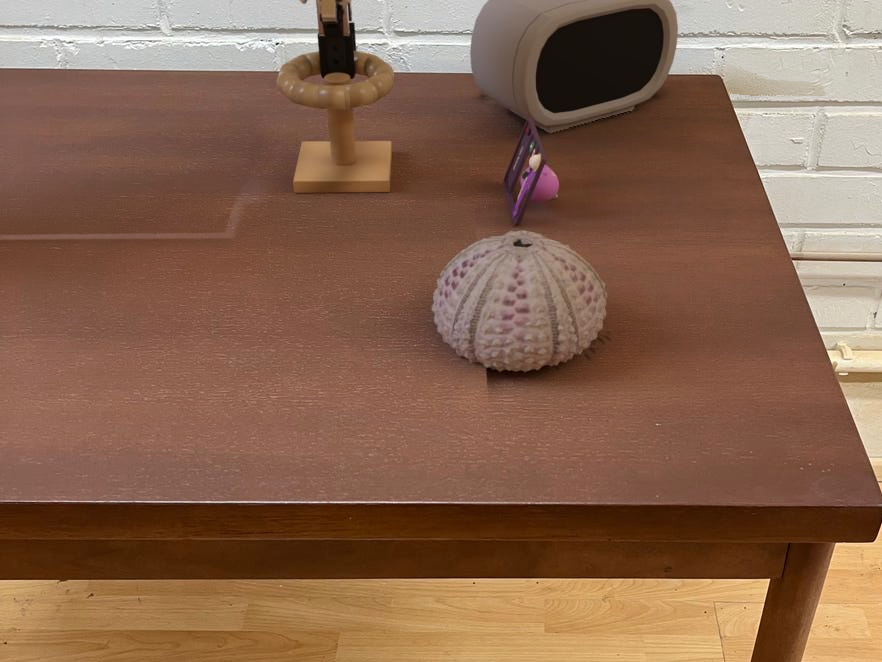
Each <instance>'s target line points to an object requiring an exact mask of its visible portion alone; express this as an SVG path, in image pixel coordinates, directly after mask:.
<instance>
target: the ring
mask: <svg viewBox="0 0 882 662" xmlns="http://www.w3.org/2000/svg"><path fill="white" fill-rule="evenodd" d="M354 61H355V75H359V76H364V77H367V79H365V80H362V81H359V82H354V83H353V82H352V83H351V84H348V85H325V84H318V83H317V84H316V83H312V82H308V81H304V80H306V79H308V78H309V77H314V76H319V75H321V70H320V59H319V50H318V51H313V52H308V53H302V54H299V55H297V56H295V57H294V58H292V59H290V60H289V61H287V62H285V63H283V64H282V65H281V67H280V69H279V72H278V75H277V78H276V87H277V89H278V91H279V92H280V93H281V94H283V95H284V97H285V98H287V99H288V100H290V102H291V103H294V104H295V105H301V106H304V107H307V108H312V109H317V110H327V109H351V108H353V109H354V108H355V109H356V108H359V107H364V106H369V105H373V104H375V103H376V102H378V101H379V100H381V99H383V98H385V97H386V96H388V95H389V94H390V93H391V92H392V90H393V88H394V81H395V72H394V69H393V67H392V66H391V65H390V64H389V63H388V62H386V61H385V60H383V59H382V58H381V57H379V56H378V55H375V54H373V53H367V52H363V51H358V50H356V51H354Z"/></svg>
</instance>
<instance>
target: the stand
mask: <svg viewBox="0 0 882 662" xmlns="http://www.w3.org/2000/svg"><path fill="white" fill-rule="evenodd" d="M323 82H324V84H323V85H348V84H352V82H351V79H350V76H349V75H348V74H345V73H331V74H328V75H326V76H325V77H324V79H323ZM353 109H354V108H351V109H326V115H327V126H328V136H329V141H327V140H324V141H323V140H322V141H321V140H320V141H318V140H317V141H311V140H309V141H301V143H300V144H301V145H300V148H299V153H298V158H297V162H296V167H295V170H294V171H295V172H294V176H293V181H292V183H293V191H294V193H295V194H315V193H316V194H318V193H319V194H321V193H323V194H324V193H327V194H328V193H329V194H331V193H332V194H333V193H334V194H335V193H390V192H391V176H392V159H393V158H392V157H393V144H392V143H393V142H392V140H359V141H358V140H356V138H355V137H356V135H355V122H354V110H353Z"/></svg>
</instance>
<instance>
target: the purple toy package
mask: <svg viewBox="0 0 882 662" xmlns="http://www.w3.org/2000/svg"><path fill="white" fill-rule="evenodd" d="M521 131H522V132H521V134H520V137H519V139H518V141H517V144H516V146H515V149H514V152H513V154H512V157H511V159H510V161H509V164H508V167H507V169H506V172H505V174H504V177H503V179H502V184H503V188H504V191H505V195H506V196H505V197H506V199H507V203H508V207H509V210H510V213H511V217H512V221H513V224H514V226H517V227H519V226H520V225H521V222H522V220H523V218H524V215H525V213H526V210H527V208H528V206H529V203H530V201H531V200H533V201H535V202H538V203H544V202H549V201H551V200H552V199H554V200H556V198H558V197H559V196H558V192H559V188H560V182H559V178H558V176H557V174H556V173H555V171H553V170H552V168H550V166H548V165H547V164H546V162H547V159H548V157H547V154H546V152H545V149H544V146H543V144H542V140H541V138H540V135H539V132H538V129H537V126H536V125H535V124H534V121H533V118H531V117H528V119H527V120H526V121H525V124H524V126H523V129H522V130H521ZM528 156H530V158H529V161H528V164H529V166H528V167H526V169H525V170H524V171H523V168H524V166H525V164H526V162H527V158H528ZM522 171H523V172H522ZM520 176H521V177H520ZM519 179H520V186H521V188H520V190H519V193H518V195H517V200H516V202H515V200H514V198H513V193H514V191H515V188H516V186H517V183H518V180H519ZM525 194H526V195H525ZM524 196H525V197H524ZM523 198H524V200H523ZM522 200H523V202H522ZM521 203H522V205H521V207H520V204H521Z"/></svg>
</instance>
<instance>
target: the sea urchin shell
mask: <svg viewBox="0 0 882 662" xmlns="http://www.w3.org/2000/svg"><path fill="white" fill-rule="evenodd" d="M439 277H440V278H437V279H436V284H437V285H436V288H435V289H434V292H433V296H432V299H433V303H432V305H431V306H430V308H431V311H432V313H433V314H434V316H433V322H434V324H435V325H436V326H437V329H436V330H437V332H438V333H439V334H440V335H441V336H442V341H443V343H445V344H447V345H449V346H450V348H452V349H453V350H455V352H456V355H457V357H463V358H466V359H468V360H469V363H471V364H474V363H480V364H483V366H484V367H485V368H487V369H489V368H490V369H491V370H492V371H493V370H494V371H495V370H496V371H498V372H500V373H501V372H503V371H505V370H507V371H513V372H519V371H523V372H524V373H526V372H530V371H533V370H535V371H539V370H540V369H541V368H542V367H544V366H549V367H553V366H558V365H559V363H567V361H568V360H572V359H573V356H574V355H581V354H582V352H583V350H585V349H588V348H590V345H591V342H592V341H594V340H597V338H598V333H599V332H600V331H602V330H603V328H604V320H605V319H606V318H607V311H606V306H607V298H608V295H609V294H608V293H607V291H606V290H605V288H606V283H605V282H604V281H603V280H602V279H601V278H600V274H599V273H597V271H596V270H595V268H594V267H593V266H592V265H591V264H590V263H589V262H588V261H586V260H585V258H584V257H583V256H581V255H580V254H578V253H577V251H576V250H573V249H571V247H570V245H569V244H563V243H561V242H560V241H558V240H554V239H550V238H548V237H547V236H544V235H542V234H541V232H540V233H537V232H536V231H535V232H534V231H529V230H523V229H522V230H516V231H514V230H510V231H507V232H506V233H505V234H501V235H497V236H493V235H491V236H490V237H488V238H485V237H483V238H482V239H481V240H479V241H477V240H476V241H475V242H473V243H472V244H470V245H469V246H467V247H466V248H464V249H462V250H461V251H460V252H459V253H458V254H456V255H455V256H454V257H453V258H452V259H451V260H450V261H449V262H448V263H447V265H446V266H445V267H444V269H443V270H441V272H440V275H439Z"/></svg>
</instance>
